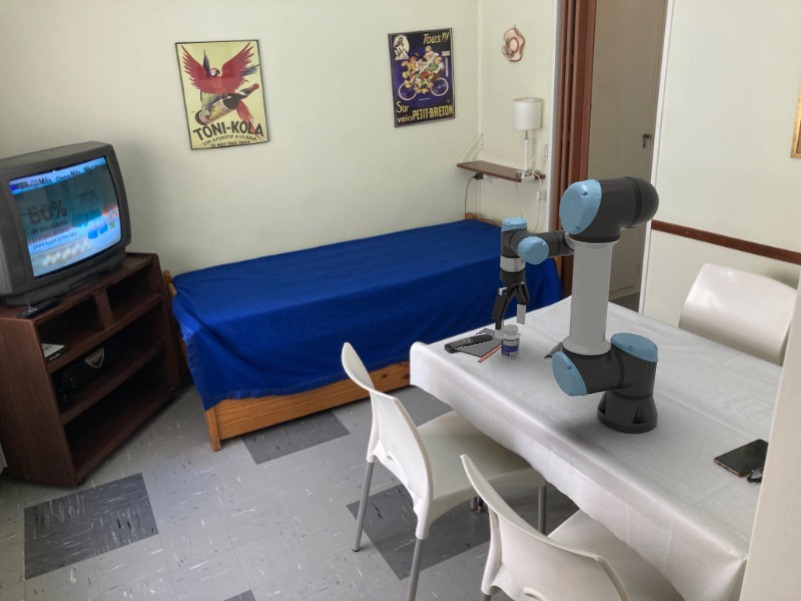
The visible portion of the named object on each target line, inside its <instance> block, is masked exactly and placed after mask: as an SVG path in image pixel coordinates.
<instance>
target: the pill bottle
mask: <svg viewBox="0 0 801 601" xmlns="http://www.w3.org/2000/svg"><path fill="white" fill-rule="evenodd" d="M518 333H519V327H518V326H517V325H516V324H504V339H503V340H502V339H501V349H500V353H501V356H502V357H503V358H505V359H511V360H512V359H516V358H517V357H519V356H520V335H519V334H518Z"/></svg>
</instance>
